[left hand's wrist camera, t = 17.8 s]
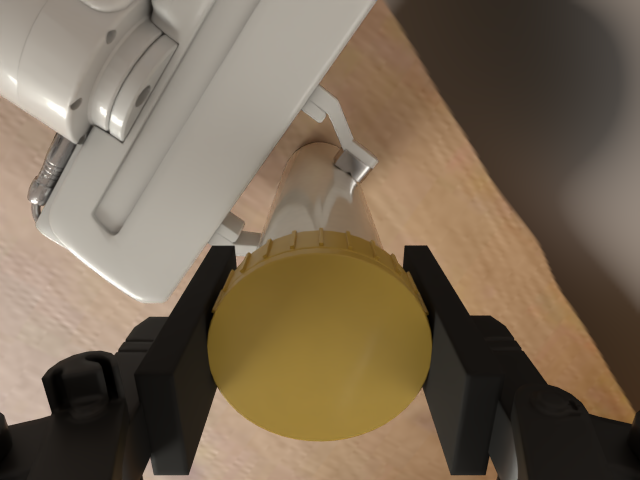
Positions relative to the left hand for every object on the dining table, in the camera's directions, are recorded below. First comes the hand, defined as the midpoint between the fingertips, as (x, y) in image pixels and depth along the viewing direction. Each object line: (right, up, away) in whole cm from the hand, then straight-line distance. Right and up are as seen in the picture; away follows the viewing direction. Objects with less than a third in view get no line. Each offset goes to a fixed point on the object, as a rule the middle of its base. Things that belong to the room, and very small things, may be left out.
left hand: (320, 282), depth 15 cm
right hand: (+1, +3, +8) cm, 9 cm away
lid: (0, -1, -3) cm, 4 cm away
